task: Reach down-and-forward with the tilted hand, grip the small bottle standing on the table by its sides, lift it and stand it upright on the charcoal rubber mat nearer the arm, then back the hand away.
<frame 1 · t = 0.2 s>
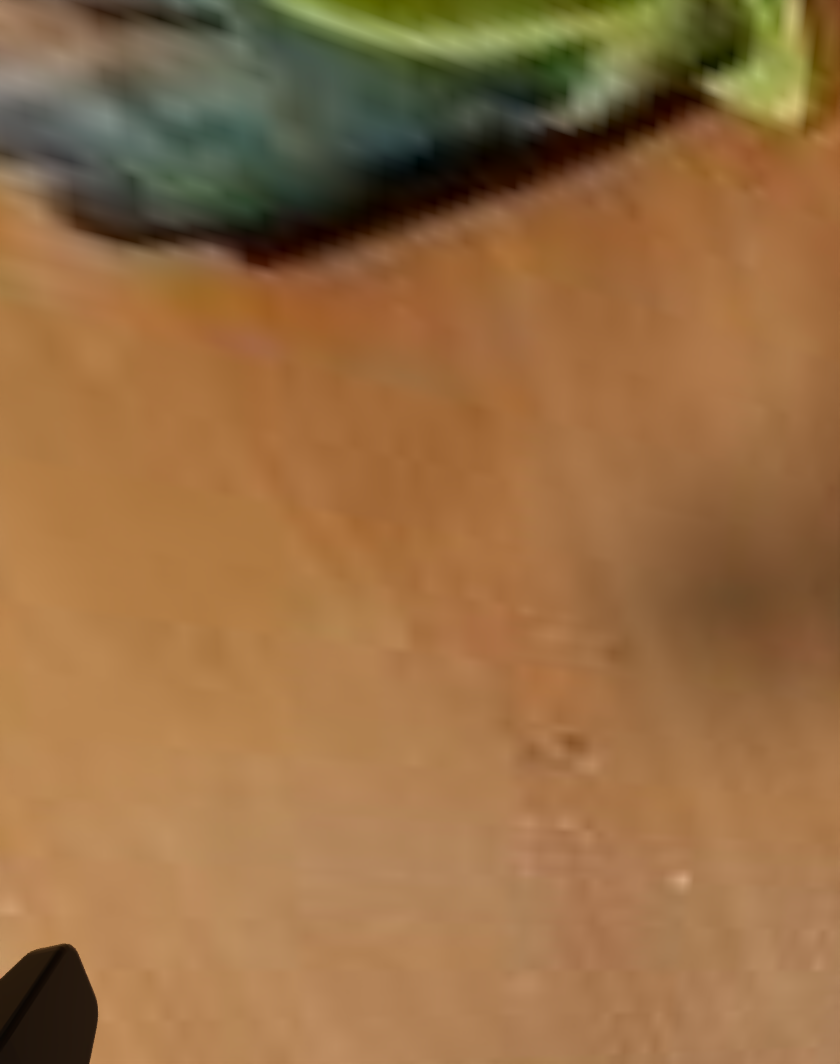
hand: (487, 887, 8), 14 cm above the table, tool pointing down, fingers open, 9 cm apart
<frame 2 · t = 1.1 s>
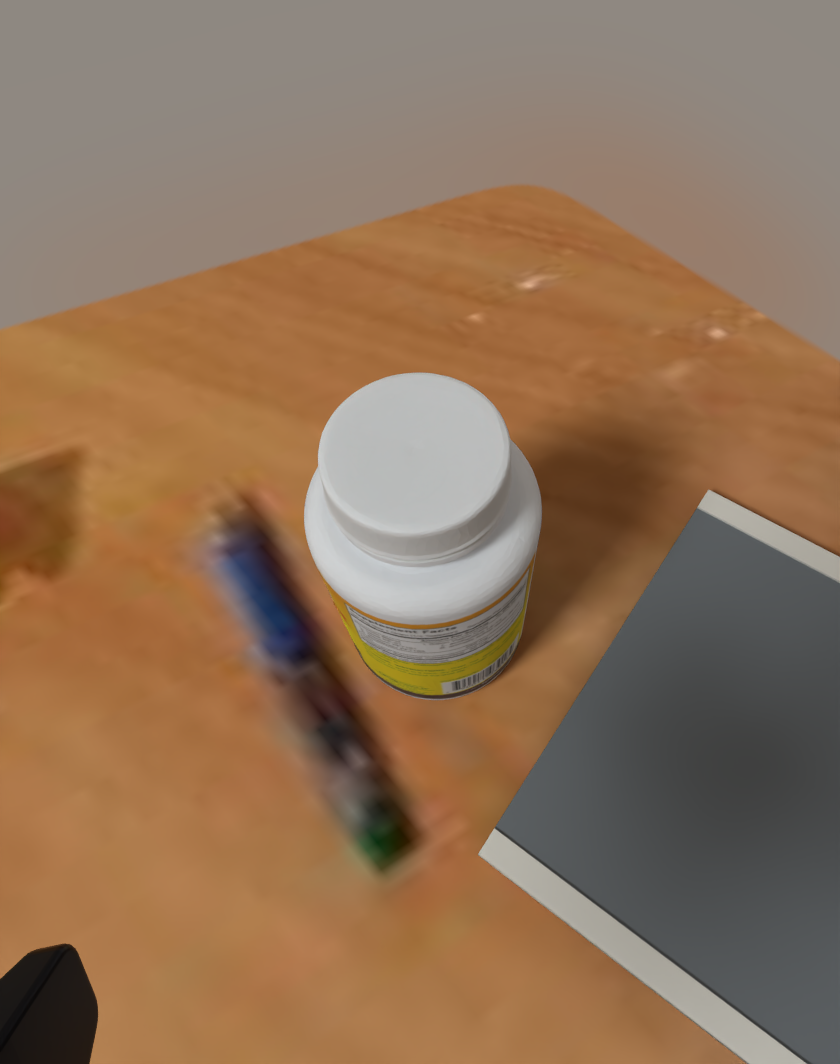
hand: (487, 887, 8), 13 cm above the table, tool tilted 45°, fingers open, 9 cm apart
mat: (821, 795, 20), on the table
supplement bottle: (437, 624, 24), on the table
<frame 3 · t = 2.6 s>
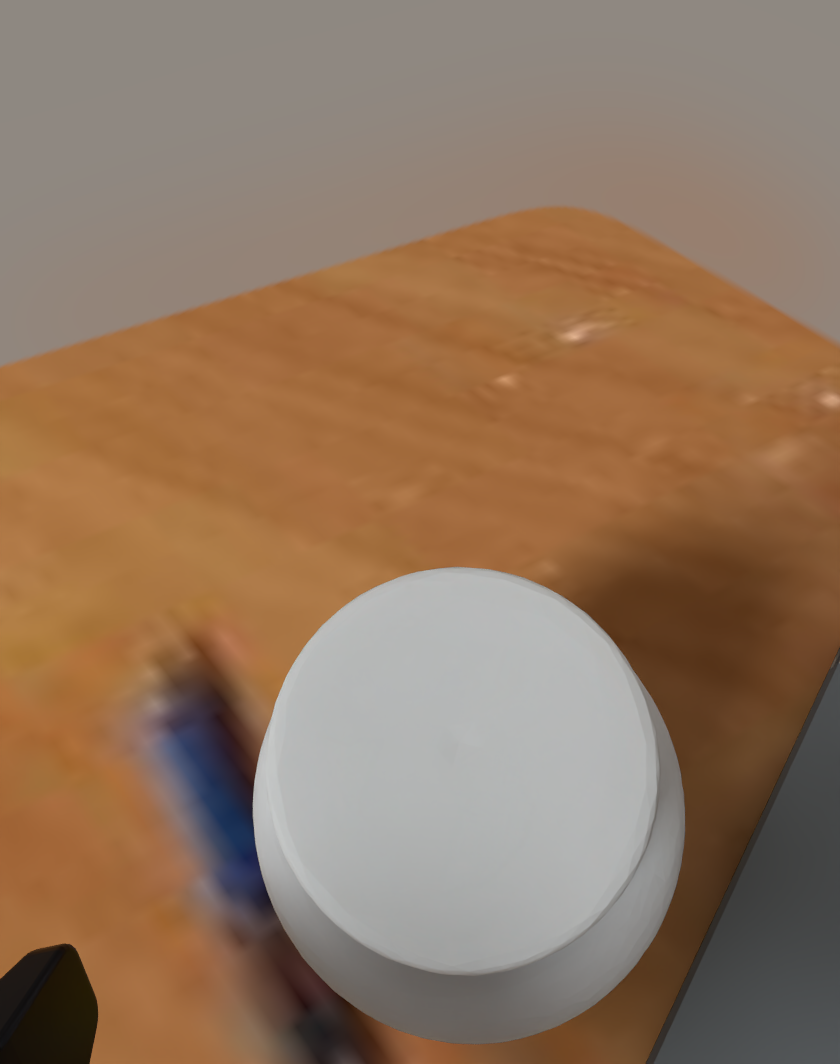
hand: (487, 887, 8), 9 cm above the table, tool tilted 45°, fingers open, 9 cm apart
supplement bottle: (469, 841, 16), on the table
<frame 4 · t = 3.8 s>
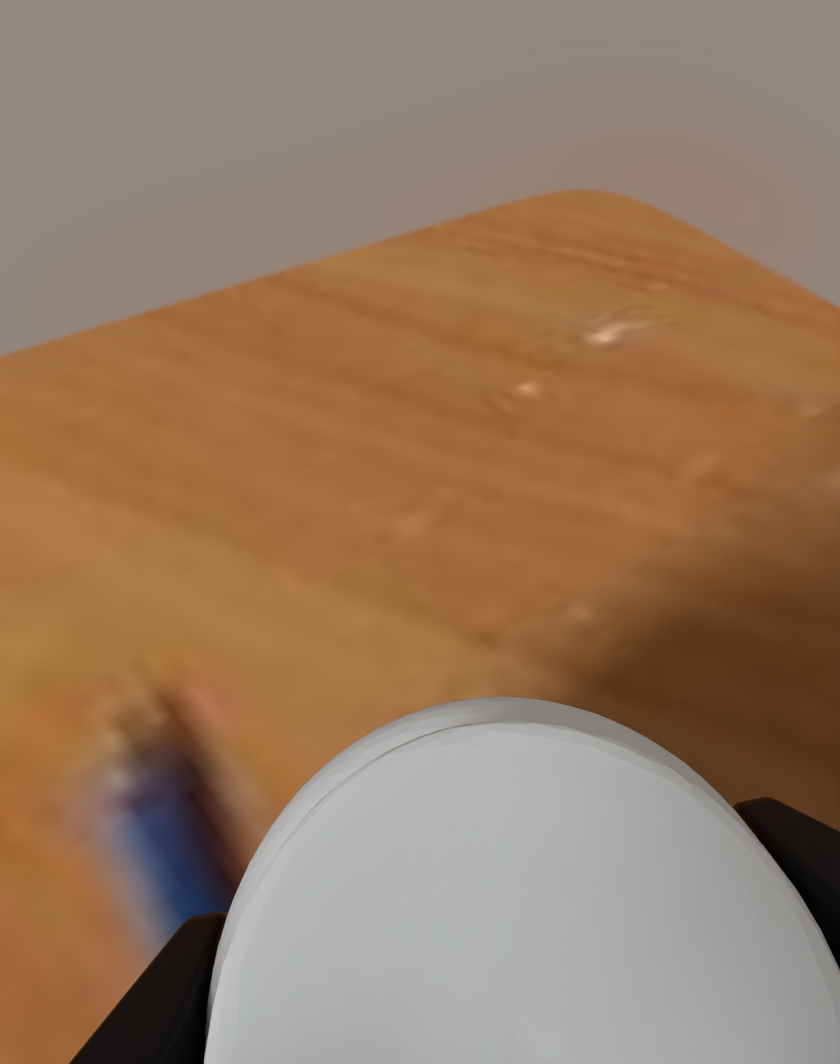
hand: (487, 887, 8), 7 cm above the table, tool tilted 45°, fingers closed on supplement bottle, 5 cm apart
supplement bottle: (493, 955, 13), on the table, touching gripper
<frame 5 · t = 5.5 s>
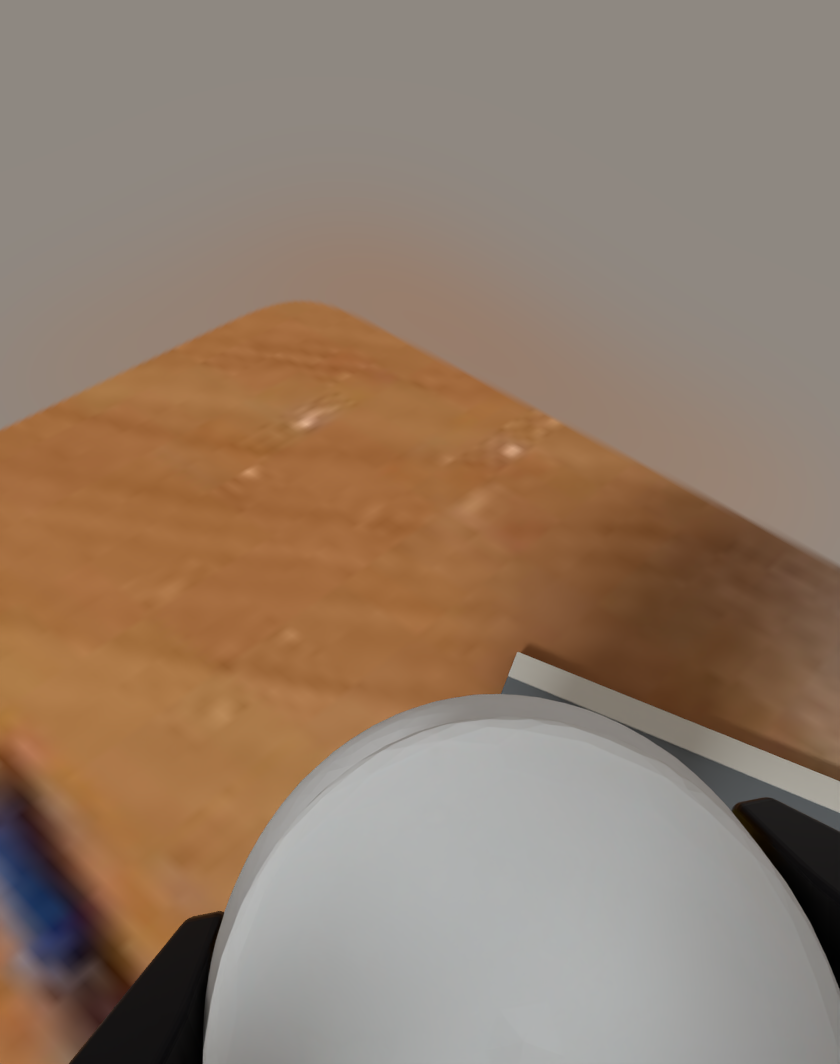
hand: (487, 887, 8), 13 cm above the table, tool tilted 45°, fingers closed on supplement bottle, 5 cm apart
mat: (679, 1012, 18), on the table
supplement bottle: (488, 952, 13), point 6 cm above the table, touching gripper
when the fingers open (8 cm above the table, at t = 7.2 s): supplement bottle stays where it is, resting on mat.
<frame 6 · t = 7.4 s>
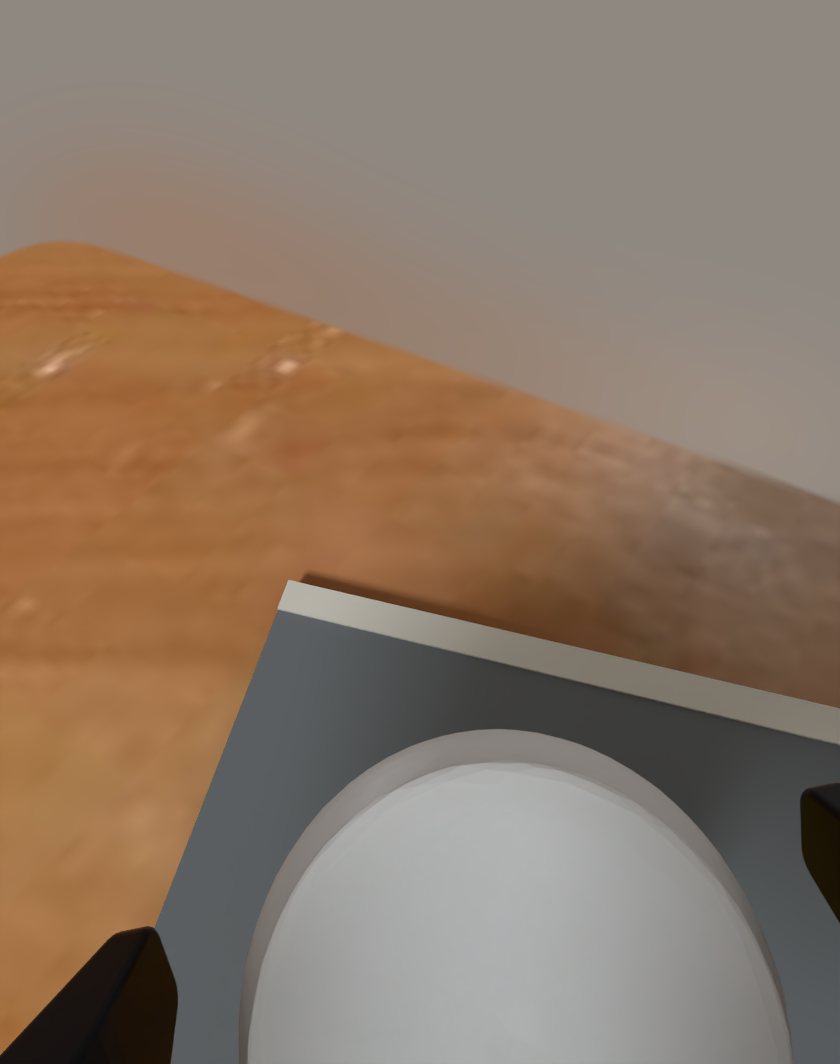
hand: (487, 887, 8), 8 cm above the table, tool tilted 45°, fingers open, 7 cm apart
mat: (496, 973, 14), on the table
supplement bottle: (495, 960, 14), resting on mat
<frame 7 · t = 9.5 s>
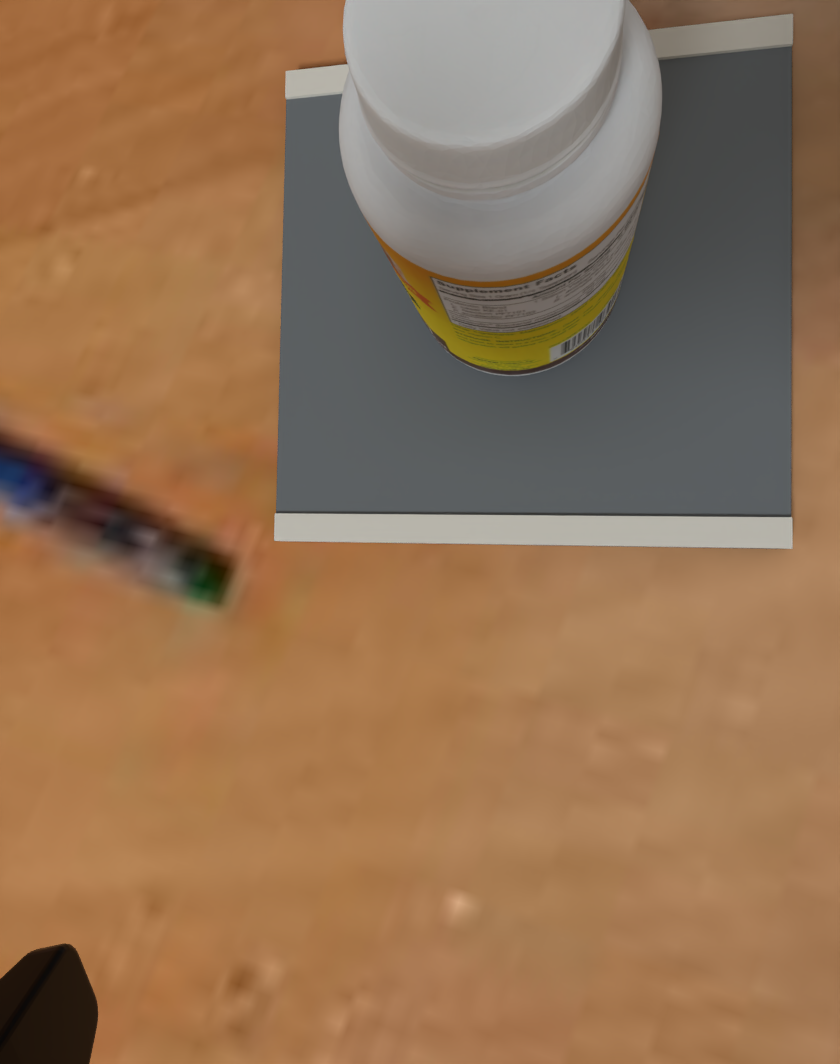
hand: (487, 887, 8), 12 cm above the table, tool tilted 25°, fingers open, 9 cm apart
mat: (520, 299, 20), on the table
supplement bottle: (517, 287, 20), resting on mat
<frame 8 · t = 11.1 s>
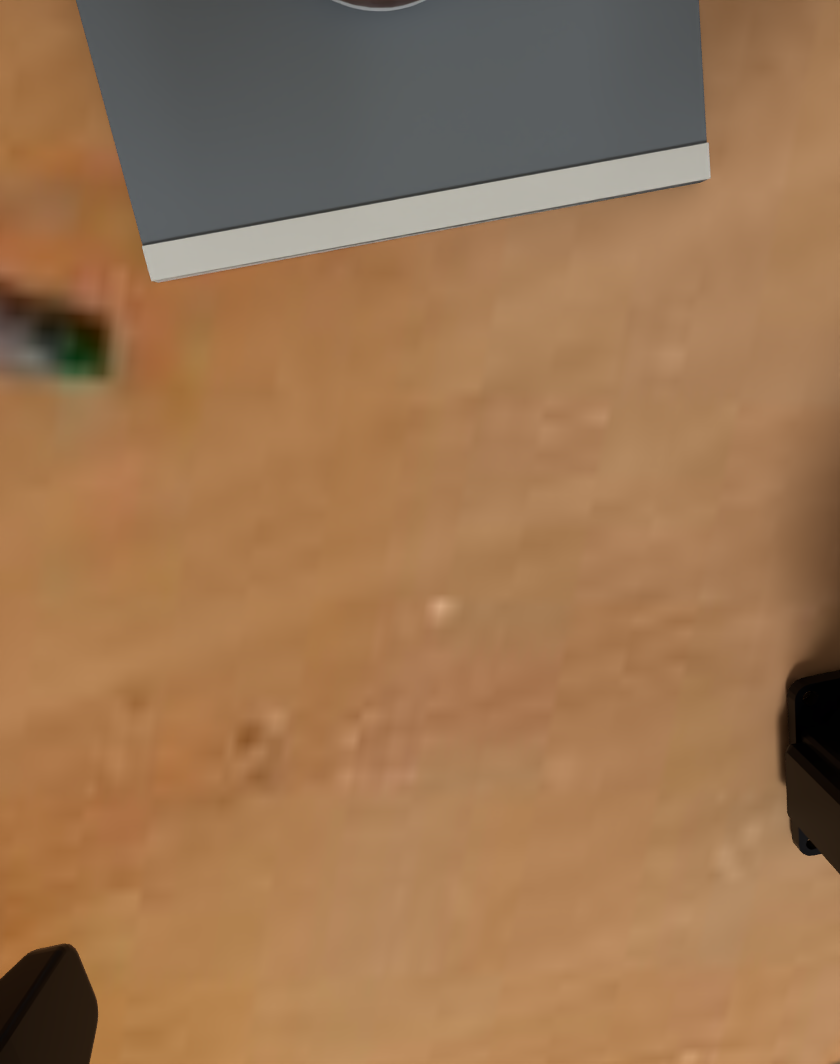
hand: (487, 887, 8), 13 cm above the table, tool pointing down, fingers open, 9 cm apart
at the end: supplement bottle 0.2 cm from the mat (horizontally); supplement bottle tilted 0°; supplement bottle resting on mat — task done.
